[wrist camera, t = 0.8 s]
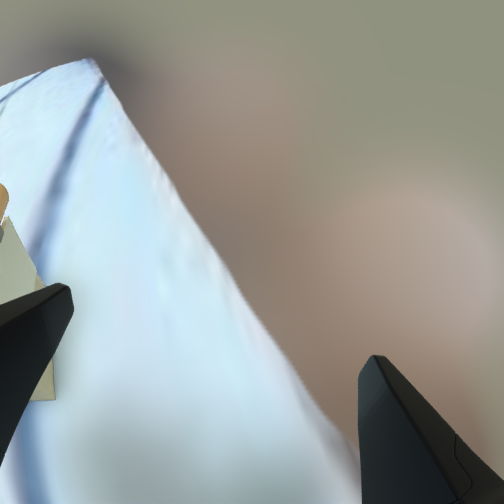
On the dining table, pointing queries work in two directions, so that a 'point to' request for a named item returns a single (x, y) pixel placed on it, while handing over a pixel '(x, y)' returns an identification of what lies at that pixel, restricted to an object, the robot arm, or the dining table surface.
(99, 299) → the dining table surface
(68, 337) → the dining table surface
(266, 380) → the dining table surface
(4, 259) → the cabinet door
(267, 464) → the dining table surface
